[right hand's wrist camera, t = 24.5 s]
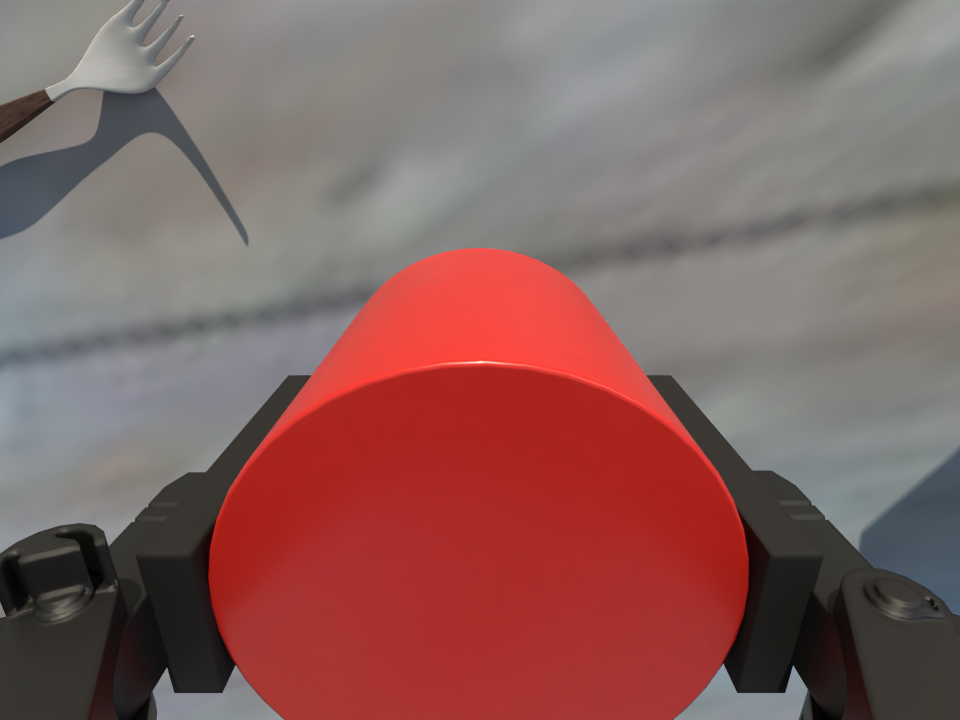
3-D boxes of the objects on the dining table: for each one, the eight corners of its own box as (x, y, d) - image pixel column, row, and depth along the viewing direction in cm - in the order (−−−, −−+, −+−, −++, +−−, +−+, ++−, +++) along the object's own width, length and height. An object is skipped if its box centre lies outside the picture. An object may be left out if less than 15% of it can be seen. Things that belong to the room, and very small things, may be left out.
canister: (541, 531, 18) (589, 831, 10) (308, 444, 17) (154, 707, 9) (666, 317, 15) (867, 496, 7) (400, 198, 14) (298, 256, 6)
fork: (-138, 161, 23) (-193, 161, 21) (183, -19, 20) (153, -37, 18) (-91, 220, 23) (-141, 225, 22) (222, 53, 21) (197, 43, 19)
